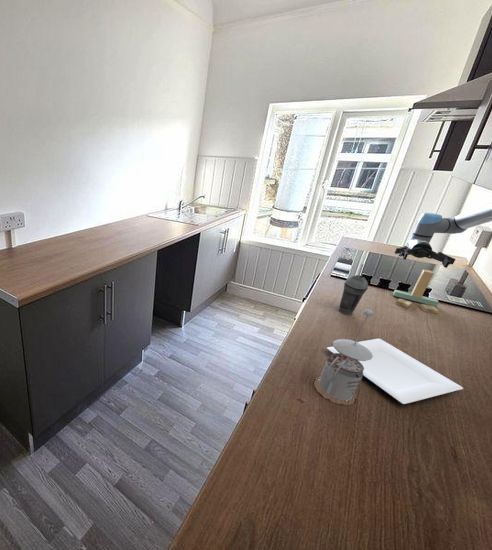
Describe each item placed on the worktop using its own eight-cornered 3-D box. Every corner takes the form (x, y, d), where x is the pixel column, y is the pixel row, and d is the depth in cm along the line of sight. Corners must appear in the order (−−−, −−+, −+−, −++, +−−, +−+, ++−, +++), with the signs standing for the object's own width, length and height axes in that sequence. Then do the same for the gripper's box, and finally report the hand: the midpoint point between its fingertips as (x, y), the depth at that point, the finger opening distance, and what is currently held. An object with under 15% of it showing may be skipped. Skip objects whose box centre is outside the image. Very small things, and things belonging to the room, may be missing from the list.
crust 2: (431, 309, 121) (433, 305, 121) (436, 313, 118) (438, 310, 117) (419, 306, 123) (421, 303, 122) (424, 311, 119) (426, 308, 119)
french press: (364, 396, 77) (405, 315, 66) (340, 414, 71) (380, 328, 61) (325, 372, 85) (356, 296, 74) (301, 387, 79) (331, 306, 69)
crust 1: (410, 305, 124) (412, 302, 123) (407, 308, 122) (408, 304, 121) (398, 301, 127) (400, 298, 126) (395, 303, 125) (396, 300, 124)
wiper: (434, 304, 125) (451, 274, 119) (436, 307, 123) (452, 277, 117) (392, 294, 133) (406, 265, 127) (392, 296, 130) (406, 267, 125)
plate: (400, 409, 73) (404, 403, 73) (324, 352, 93) (326, 347, 92) (460, 393, 79) (464, 387, 78) (377, 342, 99) (379, 337, 98)
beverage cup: (337, 314, 115) (356, 267, 106) (332, 305, 121) (349, 260, 113) (359, 318, 113) (380, 270, 104) (352, 309, 119) (371, 263, 111)
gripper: (451, 262, 140) (461, 276, 125) (385, 249, 154) (386, 261, 138) (459, 247, 137) (470, 260, 122) (391, 236, 150) (393, 246, 135)
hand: (425, 260), depth 130 cm, fingers open, 13 cm apart
